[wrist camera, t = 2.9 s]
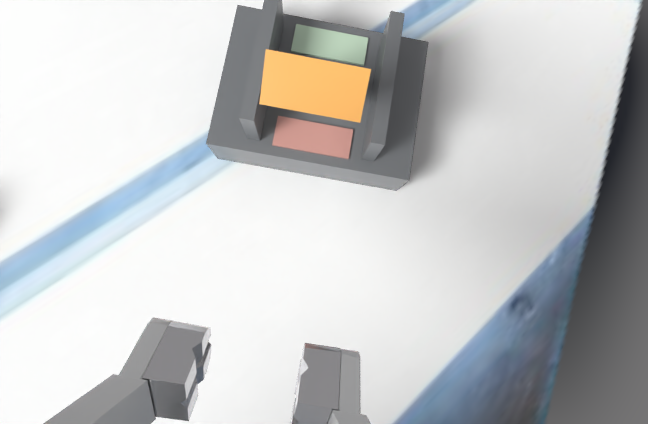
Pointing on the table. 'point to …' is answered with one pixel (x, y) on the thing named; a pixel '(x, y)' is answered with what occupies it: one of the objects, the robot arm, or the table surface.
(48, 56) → the table surface
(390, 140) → the grey switch base
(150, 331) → the robot arm
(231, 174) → the table surface
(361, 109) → the breaker lever
